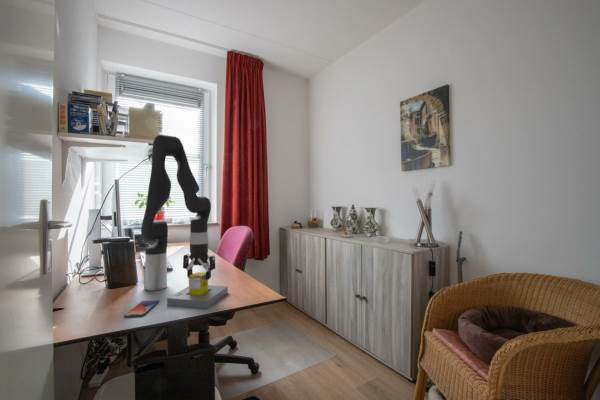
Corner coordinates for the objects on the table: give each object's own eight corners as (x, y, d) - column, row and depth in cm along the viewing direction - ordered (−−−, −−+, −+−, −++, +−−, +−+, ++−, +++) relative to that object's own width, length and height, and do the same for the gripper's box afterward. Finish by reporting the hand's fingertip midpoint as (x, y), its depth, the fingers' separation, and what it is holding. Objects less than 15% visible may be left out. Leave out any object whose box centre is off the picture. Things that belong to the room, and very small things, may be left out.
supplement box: (208, 296, 120) (208, 272, 120) (202, 301, 114) (201, 276, 114) (195, 296, 120) (195, 271, 120) (188, 301, 114) (188, 275, 114)
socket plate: (167, 305, 110) (167, 297, 110) (192, 290, 128) (192, 283, 128) (206, 308, 106) (206, 301, 106) (227, 292, 124) (227, 286, 124)
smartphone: (160, 302, 115) (160, 300, 115) (143, 317, 100) (143, 314, 100) (142, 303, 114) (142, 301, 114) (122, 318, 99) (122, 315, 99)
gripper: (179, 242, 115) (179, 280, 115) (209, 244, 112) (209, 282, 112) (189, 240, 122) (189, 275, 122) (218, 241, 119) (218, 277, 120)
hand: (199, 278), depth 117 cm, fingers open, 8 cm apart
